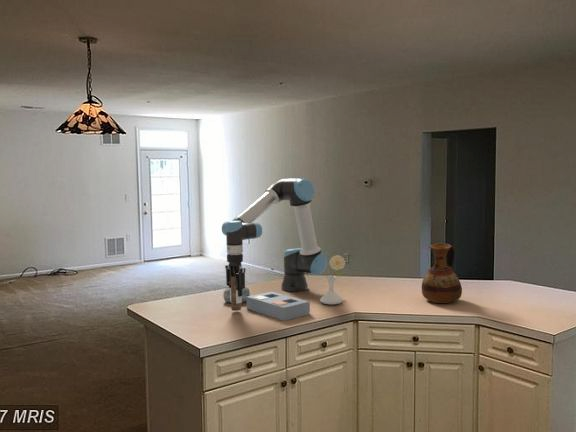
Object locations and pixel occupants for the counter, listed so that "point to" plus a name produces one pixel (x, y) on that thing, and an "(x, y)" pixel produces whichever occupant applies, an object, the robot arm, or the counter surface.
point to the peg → (234, 295)
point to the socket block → (278, 305)
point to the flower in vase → (331, 296)
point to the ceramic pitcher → (442, 276)
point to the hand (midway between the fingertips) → (235, 301)
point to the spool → (244, 294)
